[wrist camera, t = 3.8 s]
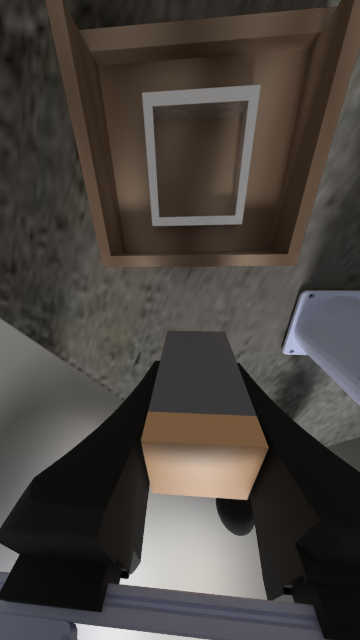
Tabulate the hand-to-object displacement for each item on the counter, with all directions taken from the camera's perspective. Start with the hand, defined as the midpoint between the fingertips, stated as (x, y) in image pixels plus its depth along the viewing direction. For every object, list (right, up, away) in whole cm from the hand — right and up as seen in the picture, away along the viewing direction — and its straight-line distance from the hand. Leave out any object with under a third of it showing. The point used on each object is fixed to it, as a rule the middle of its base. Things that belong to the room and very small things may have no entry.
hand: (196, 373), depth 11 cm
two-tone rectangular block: (0, +1, +2) cm, 2 cm away
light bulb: (+8, -22, +21) cm, 31 cm away
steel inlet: (0, +15, +3) cm, 16 cm away
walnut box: (0, +15, +3) cm, 16 cm away
